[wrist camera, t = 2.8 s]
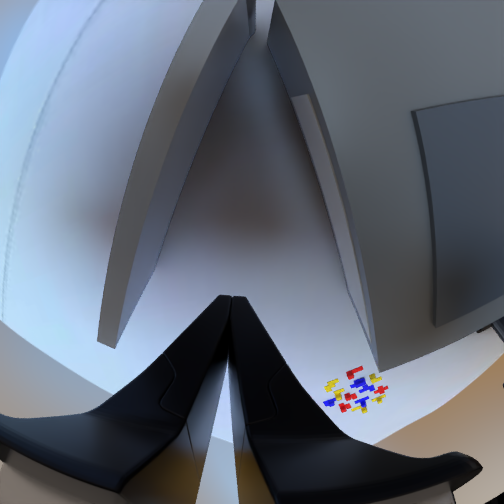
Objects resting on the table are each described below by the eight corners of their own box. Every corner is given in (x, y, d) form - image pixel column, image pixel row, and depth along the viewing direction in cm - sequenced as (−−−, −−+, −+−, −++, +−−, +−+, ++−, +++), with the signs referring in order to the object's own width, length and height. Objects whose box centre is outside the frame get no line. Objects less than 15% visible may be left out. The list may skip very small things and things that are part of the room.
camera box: (503, 232, 15) (568, 287, 9) (347, 294, 17) (383, 387, 11) (464, 1, 8) (546, -18, 2) (257, 25, 10) (258, -41, 4)
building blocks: (390, 394, 22) (395, 409, 21) (308, 424, 24) (309, 438, 23) (377, 355, 20) (383, 372, 18) (279, 391, 22) (280, 409, 20)
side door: (155, 271, 16) (117, 349, 11) (132, 262, 16) (86, 335, 10) (259, 23, 10) (262, -32, 5) (229, 13, 10) (211, -46, 5)
